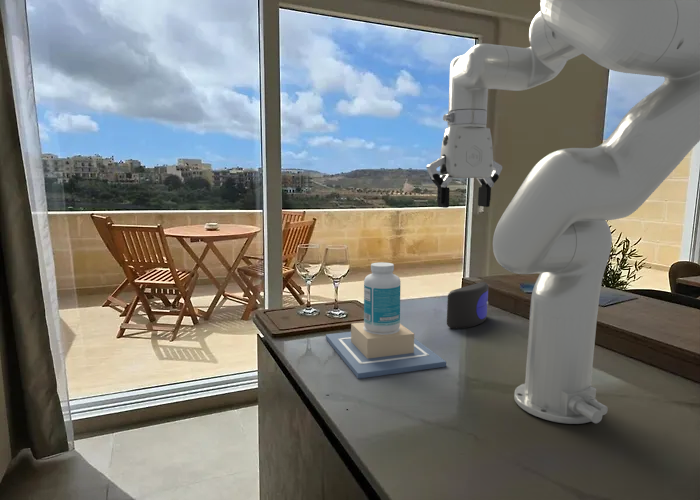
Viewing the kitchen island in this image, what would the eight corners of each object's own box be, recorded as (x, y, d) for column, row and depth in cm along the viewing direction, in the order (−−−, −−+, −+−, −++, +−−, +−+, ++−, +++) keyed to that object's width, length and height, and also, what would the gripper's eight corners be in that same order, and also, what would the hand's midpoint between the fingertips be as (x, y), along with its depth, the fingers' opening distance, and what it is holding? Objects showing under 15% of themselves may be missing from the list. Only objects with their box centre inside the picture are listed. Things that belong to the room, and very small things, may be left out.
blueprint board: (446, 366, 91) (447, 341, 90) (358, 378, 85) (358, 351, 84) (399, 330, 111) (399, 310, 110) (325, 338, 106) (325, 316, 105)
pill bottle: (405, 326, 98) (407, 263, 96) (389, 336, 92) (390, 269, 90) (374, 320, 102) (375, 259, 100) (356, 330, 96) (357, 265, 94)
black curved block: (461, 333, 110) (462, 294, 108) (444, 328, 113) (446, 290, 112) (496, 319, 121) (498, 283, 120) (480, 315, 124) (482, 280, 123)
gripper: (439, 117, 88) (436, 208, 90) (515, 121, 94) (510, 207, 96) (419, 121, 95) (417, 206, 97) (491, 125, 101) (487, 205, 103)
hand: (463, 206), depth 97 cm, fingers open, 9 cm apart
